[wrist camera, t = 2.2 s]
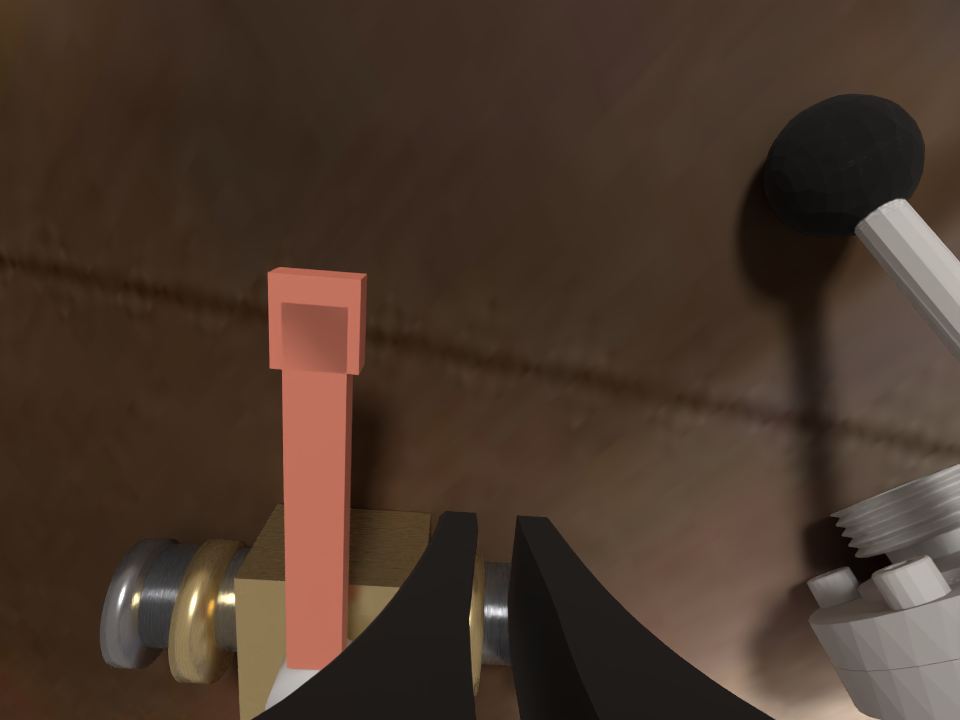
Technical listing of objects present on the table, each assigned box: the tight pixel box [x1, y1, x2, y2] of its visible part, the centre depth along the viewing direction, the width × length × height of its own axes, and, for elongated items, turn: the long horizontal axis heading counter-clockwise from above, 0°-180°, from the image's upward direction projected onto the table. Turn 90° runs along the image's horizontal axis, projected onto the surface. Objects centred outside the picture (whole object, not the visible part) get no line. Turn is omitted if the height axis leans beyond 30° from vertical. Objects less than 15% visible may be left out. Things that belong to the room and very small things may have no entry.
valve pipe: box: [100, 504, 512, 720], centre depth 22 cm, size 15×6×5 cm, turn 85°
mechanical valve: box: [764, 94, 960, 720], centre depth 20 cm, size 10×18×15 cm
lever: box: [265, 267, 367, 711], centre depth 17 cm, size 15×3×2 cm, turn 175°
